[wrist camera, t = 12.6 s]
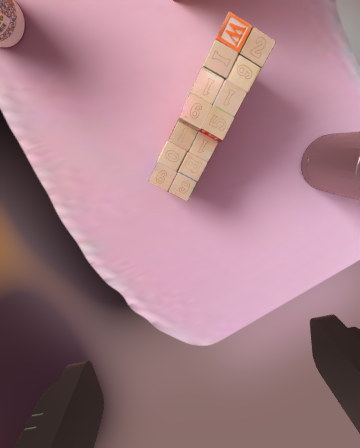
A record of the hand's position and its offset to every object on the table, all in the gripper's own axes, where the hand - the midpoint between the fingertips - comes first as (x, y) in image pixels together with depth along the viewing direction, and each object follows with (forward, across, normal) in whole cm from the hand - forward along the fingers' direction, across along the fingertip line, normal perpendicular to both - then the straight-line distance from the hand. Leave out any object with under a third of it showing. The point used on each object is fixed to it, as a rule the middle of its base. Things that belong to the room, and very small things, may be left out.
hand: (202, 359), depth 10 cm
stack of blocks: (+38, -5, -10) cm, 40 cm away
